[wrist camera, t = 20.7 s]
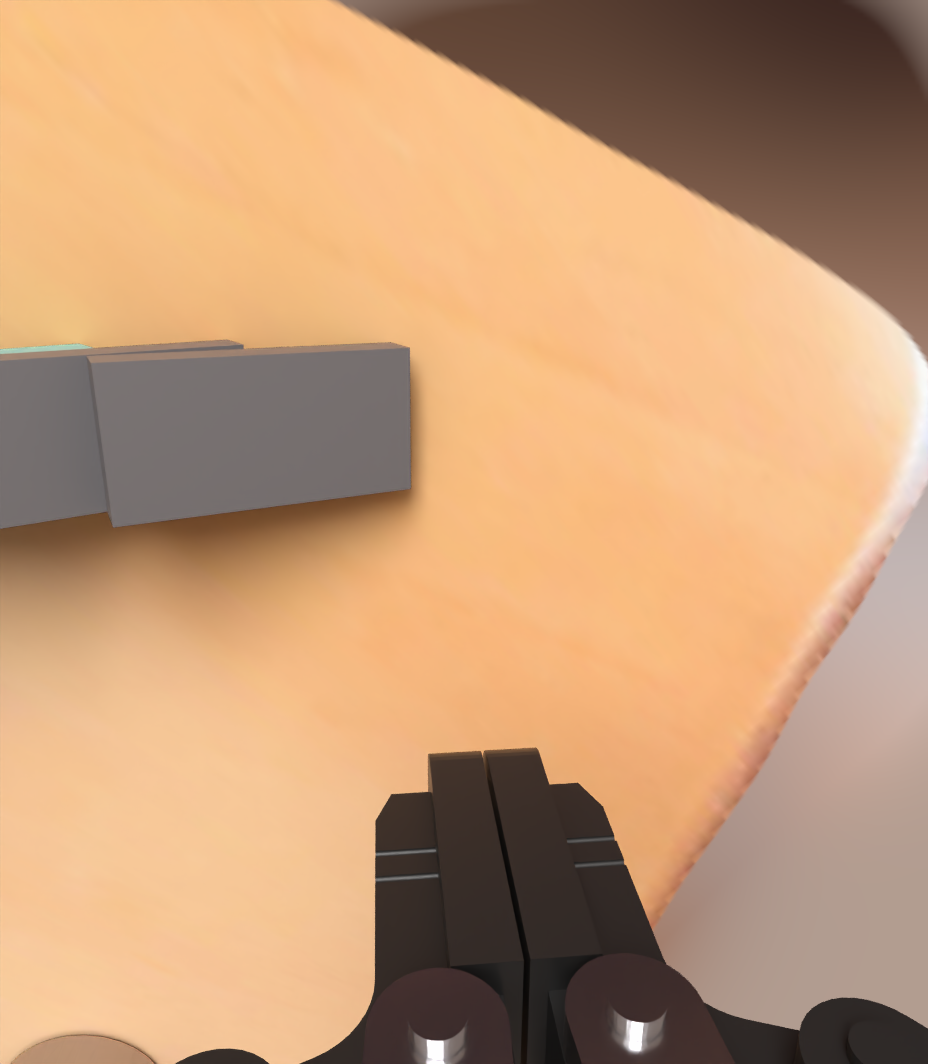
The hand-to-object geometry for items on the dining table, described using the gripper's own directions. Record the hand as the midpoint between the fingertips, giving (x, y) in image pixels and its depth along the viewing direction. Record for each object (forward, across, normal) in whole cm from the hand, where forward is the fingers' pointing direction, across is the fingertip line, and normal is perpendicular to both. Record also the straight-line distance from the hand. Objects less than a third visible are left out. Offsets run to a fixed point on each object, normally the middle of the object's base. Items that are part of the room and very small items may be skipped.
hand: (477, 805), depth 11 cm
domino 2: (+26, 0, 0) cm, 26 cm away
